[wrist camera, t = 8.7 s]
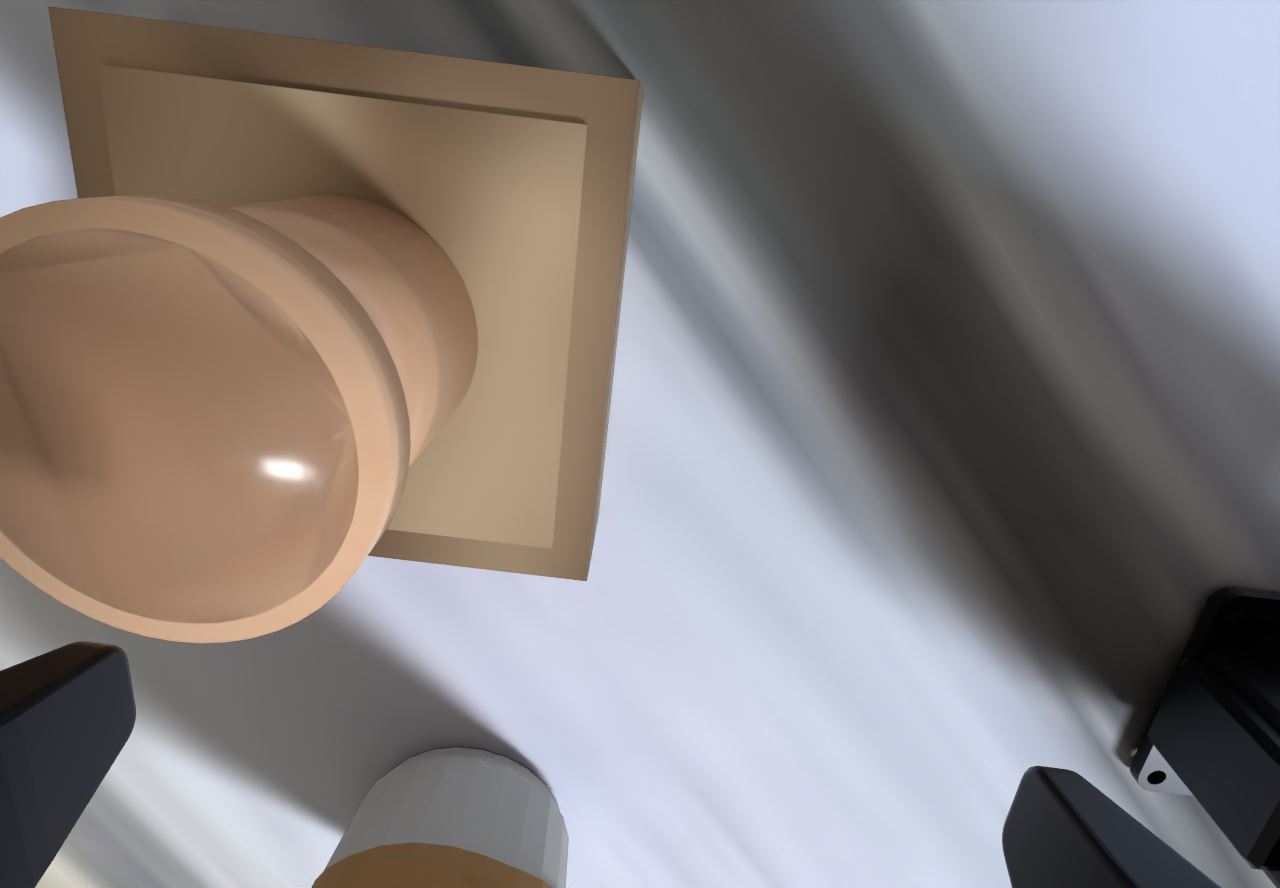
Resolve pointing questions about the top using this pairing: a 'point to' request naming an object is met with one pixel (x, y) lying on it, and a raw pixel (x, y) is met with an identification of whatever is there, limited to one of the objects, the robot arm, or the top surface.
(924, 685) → the top surface
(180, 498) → the terracotta pot
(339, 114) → the square wooden tray
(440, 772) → the coffee cup
